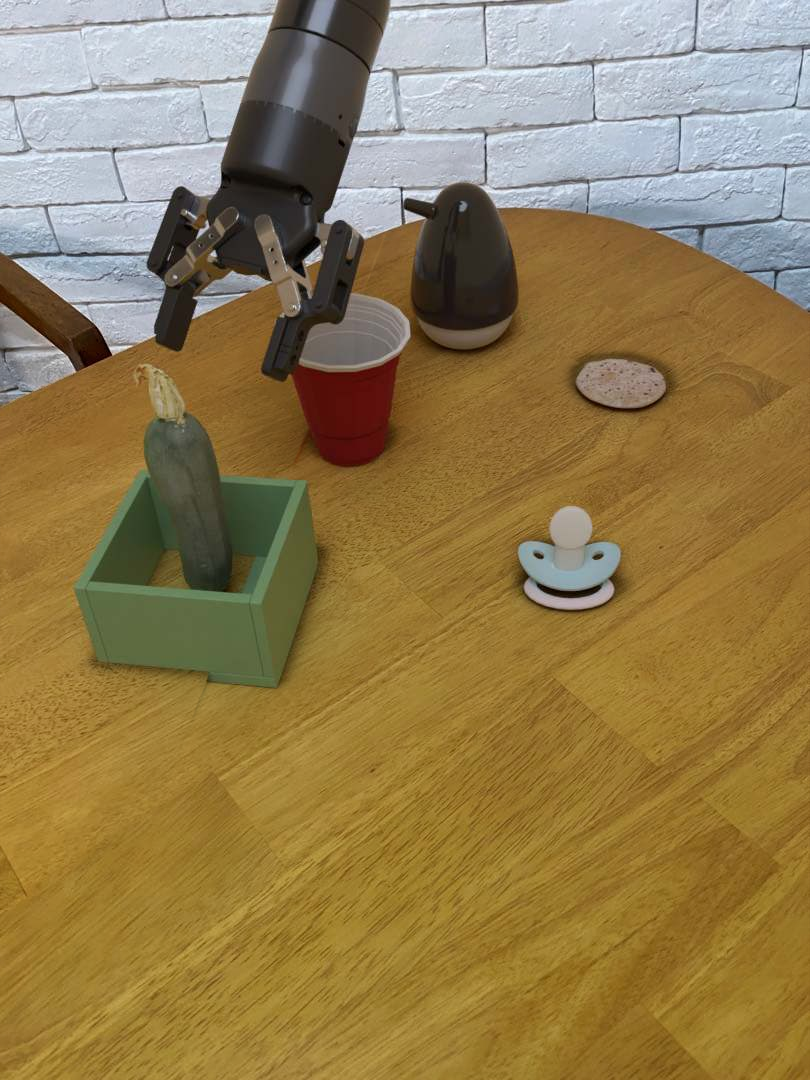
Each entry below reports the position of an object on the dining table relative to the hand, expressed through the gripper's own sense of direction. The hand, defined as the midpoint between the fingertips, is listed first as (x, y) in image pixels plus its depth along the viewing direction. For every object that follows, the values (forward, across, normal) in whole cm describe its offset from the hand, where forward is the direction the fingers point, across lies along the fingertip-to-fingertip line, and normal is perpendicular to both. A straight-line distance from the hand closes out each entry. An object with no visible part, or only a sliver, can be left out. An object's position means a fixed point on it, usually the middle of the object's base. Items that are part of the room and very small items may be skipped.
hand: (219, 362), depth 73 cm
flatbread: (-11, +15, +37) cm, 42 cm away
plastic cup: (+2, -2, +25) cm, 25 cm away
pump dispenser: (-13, -2, +39) cm, 41 cm away
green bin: (+17, 0, +9) cm, 19 cm away
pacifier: (+7, +21, +19) cm, 30 cm away
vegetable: (+16, 0, +9) cm, 18 cm away
